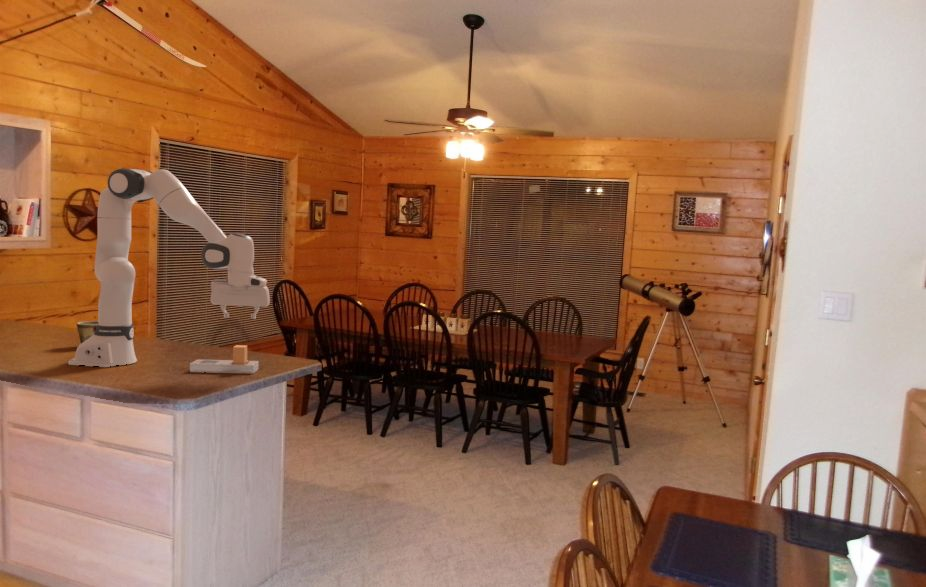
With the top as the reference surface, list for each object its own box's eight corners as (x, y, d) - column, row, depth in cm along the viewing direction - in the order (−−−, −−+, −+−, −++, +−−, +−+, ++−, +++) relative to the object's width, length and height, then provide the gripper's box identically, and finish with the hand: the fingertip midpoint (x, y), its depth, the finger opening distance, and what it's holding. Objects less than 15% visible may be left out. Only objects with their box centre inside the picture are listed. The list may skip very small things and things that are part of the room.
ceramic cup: (100, 349, 286) (99, 324, 285) (73, 349, 285) (72, 324, 284) (110, 343, 299) (110, 320, 298) (85, 343, 298) (84, 319, 297)
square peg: (233, 372, 255) (233, 347, 254) (236, 369, 259) (236, 345, 258) (244, 372, 255) (244, 347, 254) (247, 370, 259) (247, 345, 258)
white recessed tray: (189, 372, 252) (189, 363, 252) (197, 367, 260) (197, 359, 260) (253, 373, 253) (253, 365, 253) (258, 369, 261) (258, 360, 261)
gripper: (208, 278, 250) (207, 318, 251) (267, 281, 251) (266, 320, 252) (213, 277, 256) (212, 315, 257) (271, 280, 257) (270, 318, 258)
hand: (239, 318), depth 255 cm, fingers open, 8 cm apart
